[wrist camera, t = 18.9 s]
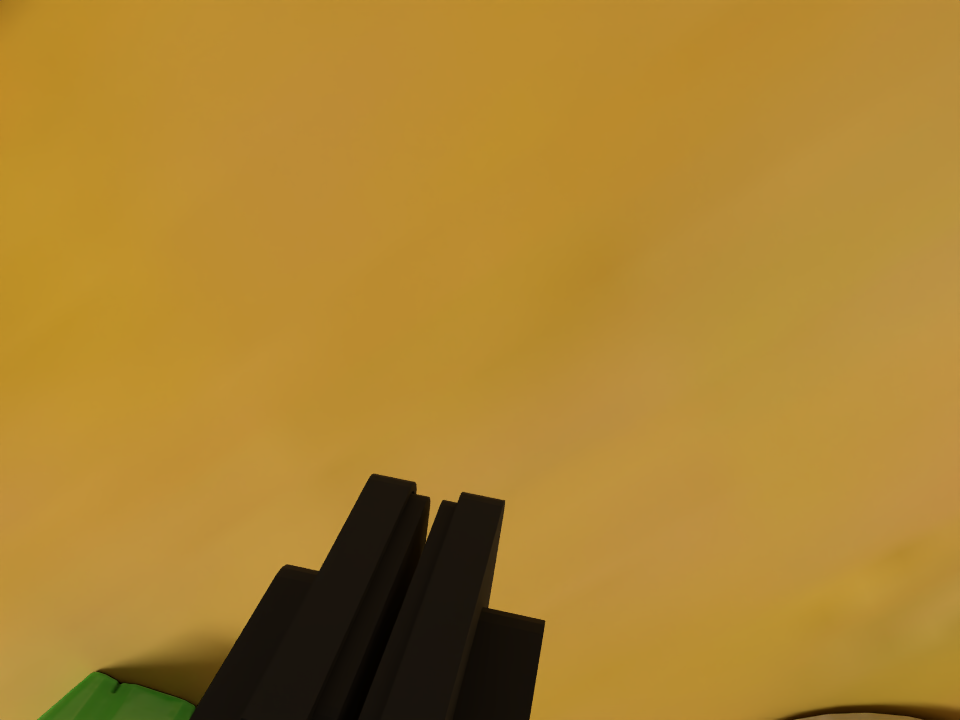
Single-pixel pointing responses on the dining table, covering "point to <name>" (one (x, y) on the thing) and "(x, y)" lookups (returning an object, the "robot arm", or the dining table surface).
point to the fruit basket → (117, 702)
